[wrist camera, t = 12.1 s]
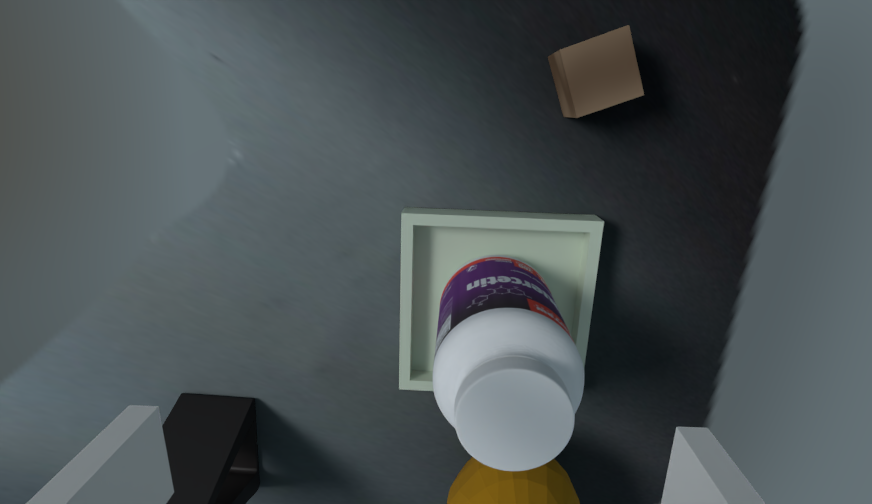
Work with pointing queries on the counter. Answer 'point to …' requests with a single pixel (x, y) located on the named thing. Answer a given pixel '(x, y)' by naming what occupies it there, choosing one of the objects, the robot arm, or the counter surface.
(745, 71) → the counter surface
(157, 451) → the robot arm
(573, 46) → the walnut block
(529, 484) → the apple
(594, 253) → the tray
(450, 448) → the counter surface
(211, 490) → the phone stand
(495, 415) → the pill bottle
